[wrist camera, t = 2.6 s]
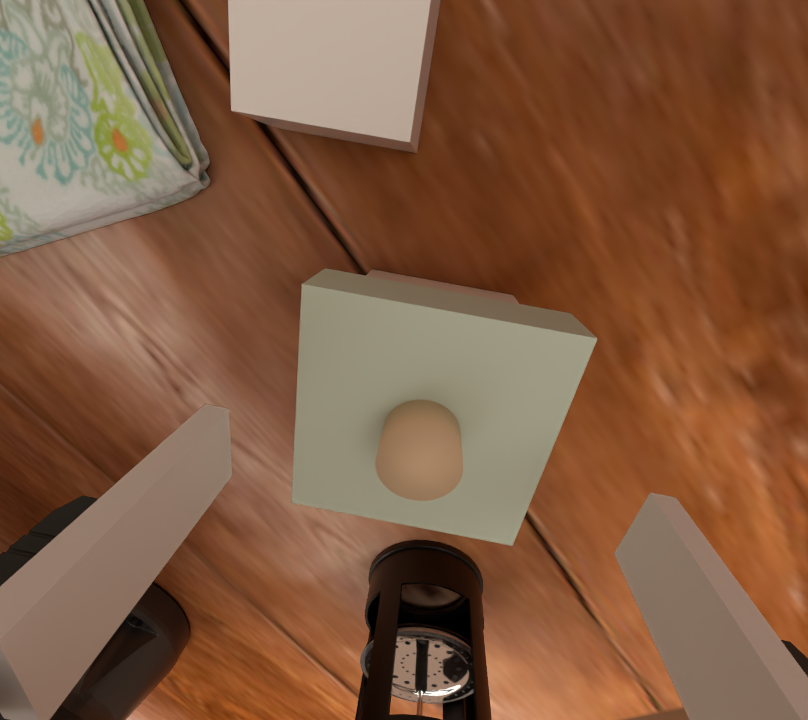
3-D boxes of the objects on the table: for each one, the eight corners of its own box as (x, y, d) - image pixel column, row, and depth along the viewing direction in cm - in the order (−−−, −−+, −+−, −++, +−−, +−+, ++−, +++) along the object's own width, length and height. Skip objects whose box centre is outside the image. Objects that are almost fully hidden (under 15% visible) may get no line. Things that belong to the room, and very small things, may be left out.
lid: (311, 461, 19) (273, 540, 15) (325, 268, 15) (278, 299, 11) (502, 498, 19) (520, 589, 15) (571, 313, 15) (624, 363, 11)
